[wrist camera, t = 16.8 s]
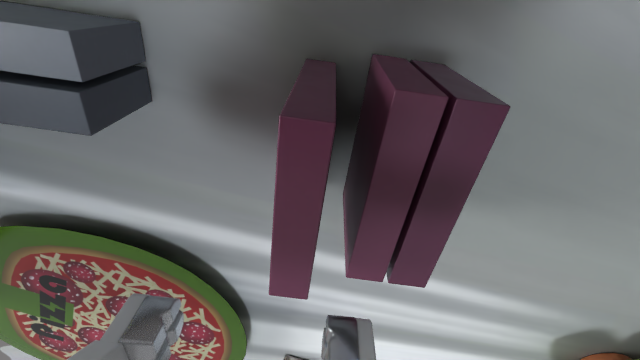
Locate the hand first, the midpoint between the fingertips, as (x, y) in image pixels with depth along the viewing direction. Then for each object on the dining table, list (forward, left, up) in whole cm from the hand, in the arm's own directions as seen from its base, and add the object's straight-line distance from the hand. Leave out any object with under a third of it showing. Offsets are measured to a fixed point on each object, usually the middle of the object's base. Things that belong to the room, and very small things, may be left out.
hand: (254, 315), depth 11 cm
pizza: (+34, -22, -20) cm, 45 cm away
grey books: (-3, -21, -20) cm, 29 cm away
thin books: (+1, +8, -20) cm, 21 cm away
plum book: (+1, +1, -20) cm, 20 cm away
